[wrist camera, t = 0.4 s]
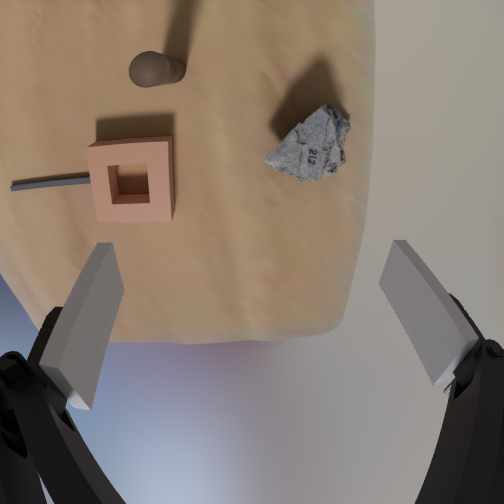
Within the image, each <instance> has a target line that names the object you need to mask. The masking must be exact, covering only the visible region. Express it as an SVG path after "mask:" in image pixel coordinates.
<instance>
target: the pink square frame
mask: <svg viewBox="0 0 504 504" xmlns="http://www.w3.org/2000/svg"><path fill="white" fill-rule="evenodd" d="M86 148H87V157H88V165H89V173H90V180H91V187H92V193H93V199H94V205H95V211H96V216H97V221H98V223H109V222H172V219H173V216H174V212H175V203H174V182H173V153H172V136H158V137H140V138H126V139H115V140H104V141H96V142H94V143H93V144H91V145H90V146H88V147H86ZM127 164H147V170H148V183H149V194H126V195H119V189H118V181H117V171H116V165H127Z"/></svg>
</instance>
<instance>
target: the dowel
mask: <svg viewBox="0 0 504 504" xmlns="http://www.w3.org/2000/svg"><path fill="white" fill-rule="evenodd" d="M185 73H186V67H185V65H184V63H183V62H182V61H180V60H178V59H175V58H172V57H169V56H166V55H163V54H160V53H157V52H154V51H146V52H143V53H140V54H139V55H137V56H136V57H135V58H134V59H133V60H132V62H131V64H130V67H129V76H130V79H131V80H132V82H133V83H134V84H136V85H137V86H139V87H144V88H145V87H153V86H159V85H165V84H171V83H176V82H179V81H180V80H181V79H182V78H183V77H184V76H185Z"/></svg>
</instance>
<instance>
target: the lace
mask: <svg viewBox="0 0 504 504" xmlns="http://www.w3.org/2000/svg"><path fill="white" fill-rule="evenodd" d="M86 183H91V180H90V176H84V177H73V178H63V179H54V180H45V181H37V182H29V183H22V184H15V185H12V186H10V188H11V191H18V190H26V189H34V188H43V187H52V186H63V185H74V184H86Z"/></svg>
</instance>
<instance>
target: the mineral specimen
mask: <svg viewBox="0 0 504 504" xmlns="http://www.w3.org/2000/svg"><path fill="white" fill-rule="evenodd" d="M350 129H351V127H350V123H349V121H348V120H347V119H345V118H344V117H343V116H342V115H341V113H340V112H339V110H338V109H337V107H336V106H334V105H331V106H329V105H326V104H325V105H322V106H321V107H320V108H319V109H317V110H316V111H315V112H314V113H313V114H311V115H310V116H309V117H308V118H307V119H306V120H305V121H304V122H300V123H299V124H298V125H297V126H296V127H295V128H294V129H292V130H291V131H290V132H289V133H288V134H287V136H286V137H285V138H284V139H283V141H282V142H281V143H280V144H279V146H277V147H276V148H275V149H274V150H273V151H272V152H270V153H269V155H268V156H267V157H266V158H265V162H266V164H269V165H272V166H273V168H274V169H275V170H276V171H281V172H282V173H285V174H291V175H295V176H297V177H298V180H300V181H309V180H310V179H313V180H319V179H320V178H321V177H322V176H330V175H332V174H333V173H335V172H336V171H337V170H338V168H340V167H342V165H343V164H344V163H345V161H346V158H345V154H344V152H345V151H344V150H343V145H344V142H345V137H346V134H347V133H348V132H349V130H350Z"/></svg>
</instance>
